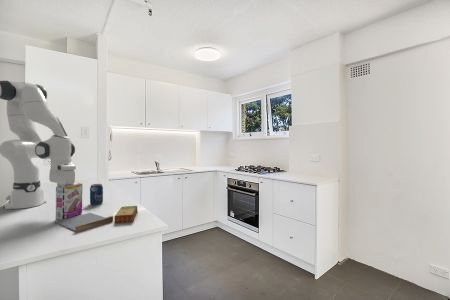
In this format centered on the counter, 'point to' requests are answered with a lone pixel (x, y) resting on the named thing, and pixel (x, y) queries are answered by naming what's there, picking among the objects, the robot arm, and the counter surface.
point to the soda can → (96, 194)
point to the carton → (126, 214)
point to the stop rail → (93, 224)
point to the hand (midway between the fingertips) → (61, 191)
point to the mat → (78, 220)
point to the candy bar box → (68, 201)
